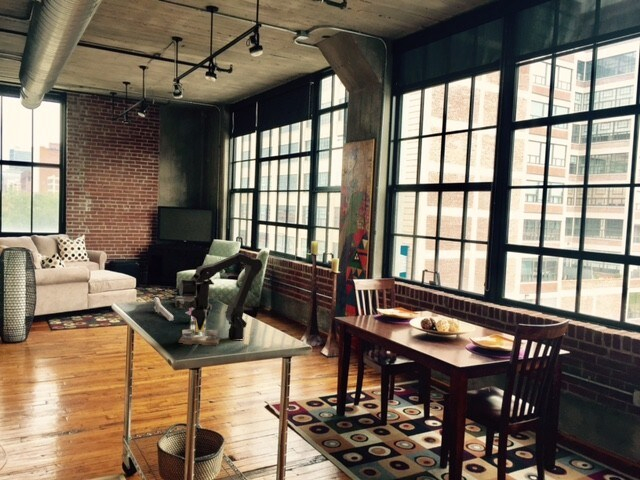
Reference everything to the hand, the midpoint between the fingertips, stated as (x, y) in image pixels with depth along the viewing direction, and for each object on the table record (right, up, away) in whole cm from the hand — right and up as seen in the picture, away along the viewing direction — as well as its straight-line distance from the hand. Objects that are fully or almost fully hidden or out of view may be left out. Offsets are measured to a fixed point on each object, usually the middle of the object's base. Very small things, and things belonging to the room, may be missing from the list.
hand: (200, 328), depth 244 cm
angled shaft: (-5, -4, -1) cm, 7 cm away
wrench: (-32, -2, +52) cm, 62 cm away
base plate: (0, -6, 0) cm, 6 cm away
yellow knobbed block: (0, -1, 0) cm, 1 cm away
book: (-26, -1, +84) cm, 88 cm away
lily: (-12, -4, +38) cm, 40 cm away
